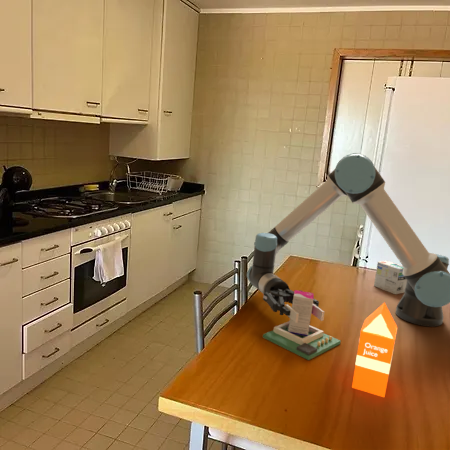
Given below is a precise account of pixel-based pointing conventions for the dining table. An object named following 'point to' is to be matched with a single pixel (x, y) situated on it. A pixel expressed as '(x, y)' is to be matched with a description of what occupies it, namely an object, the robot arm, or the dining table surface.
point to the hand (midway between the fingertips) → (310, 317)
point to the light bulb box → (390, 277)
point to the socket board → (302, 341)
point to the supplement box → (301, 312)
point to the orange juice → (375, 352)
